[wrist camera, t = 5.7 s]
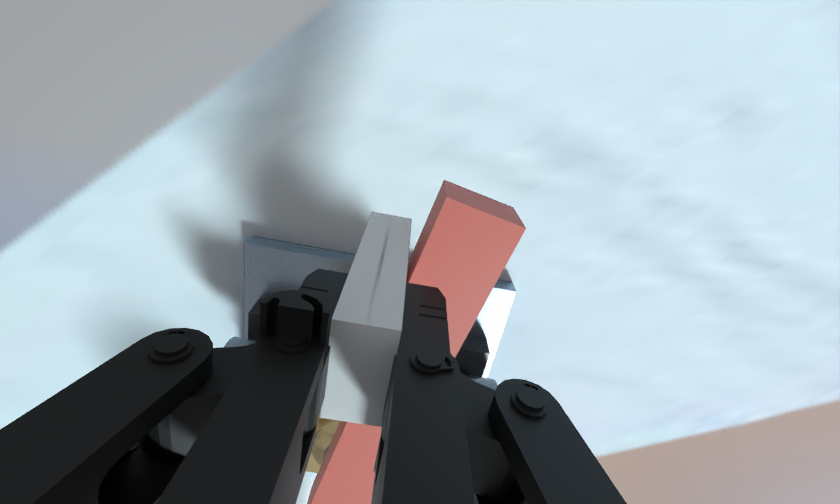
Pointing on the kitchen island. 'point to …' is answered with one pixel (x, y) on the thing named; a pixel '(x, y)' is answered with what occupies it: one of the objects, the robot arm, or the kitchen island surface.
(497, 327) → the valve fixture
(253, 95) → the kitchen island surface
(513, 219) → the lever
